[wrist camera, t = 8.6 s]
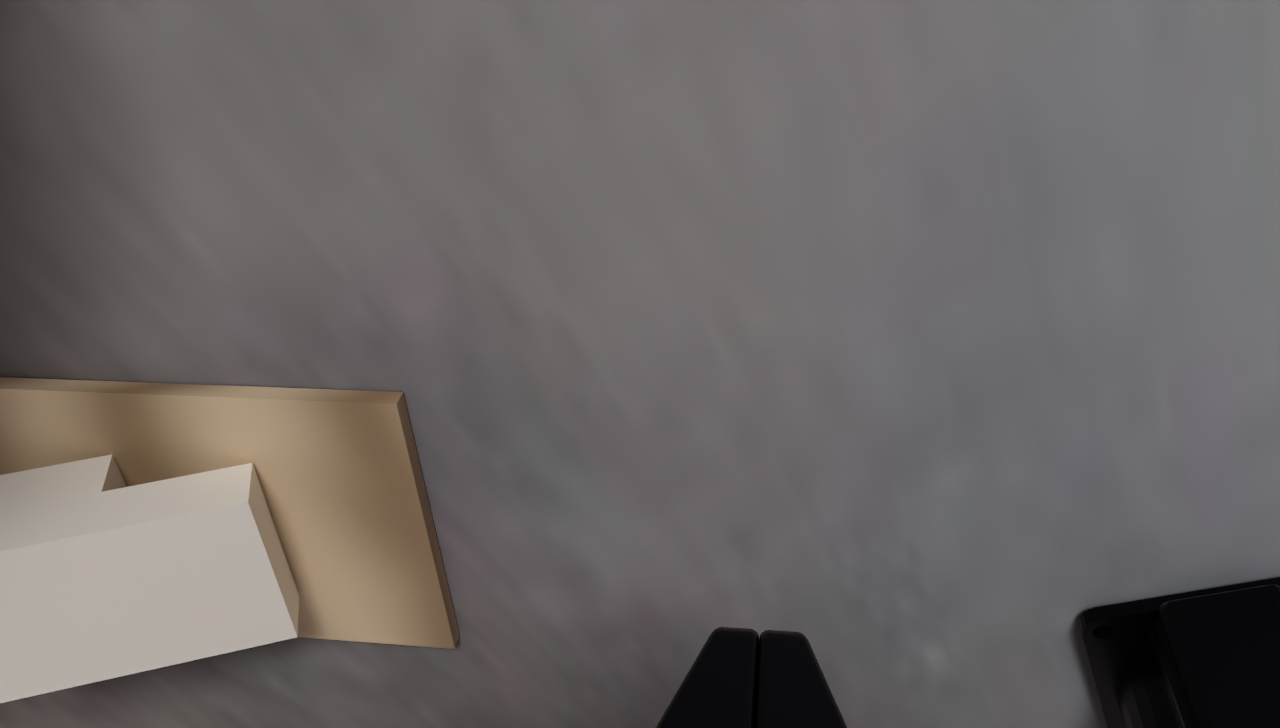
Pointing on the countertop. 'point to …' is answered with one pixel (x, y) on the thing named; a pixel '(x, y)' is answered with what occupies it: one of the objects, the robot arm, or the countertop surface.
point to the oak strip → (271, 483)
